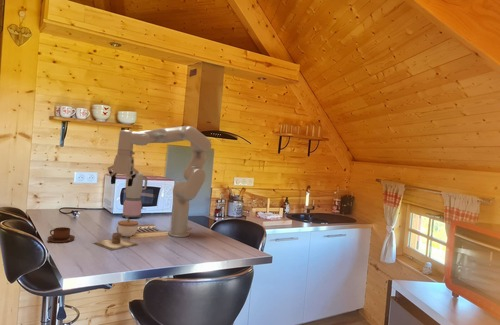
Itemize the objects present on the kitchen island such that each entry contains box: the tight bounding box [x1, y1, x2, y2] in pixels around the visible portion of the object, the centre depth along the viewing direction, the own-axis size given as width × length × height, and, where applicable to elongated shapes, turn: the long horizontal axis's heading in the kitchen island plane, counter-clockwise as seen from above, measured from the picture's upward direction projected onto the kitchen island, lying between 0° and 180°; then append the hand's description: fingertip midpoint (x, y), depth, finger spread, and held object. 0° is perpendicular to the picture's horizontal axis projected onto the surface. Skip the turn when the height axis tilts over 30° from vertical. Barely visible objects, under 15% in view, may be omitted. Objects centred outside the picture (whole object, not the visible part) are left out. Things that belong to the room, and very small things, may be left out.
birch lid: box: [94, 232, 137, 251], centre depth 174 cm, size 14×14×5 cm
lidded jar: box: [117, 218, 139, 238], centre depth 193 cm, size 11×11×9 cm
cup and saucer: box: [47, 226, 76, 244], centre depth 173 cm, size 12×12×6 cm
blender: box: [121, 171, 148, 220], centre depth 242 cm, size 16×12×32 cm
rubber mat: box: [92, 242, 139, 252], centre depth 175 cm, size 16×16×1 cm
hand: (121, 185), depth 184 cm, fingers open, 9 cm apart
